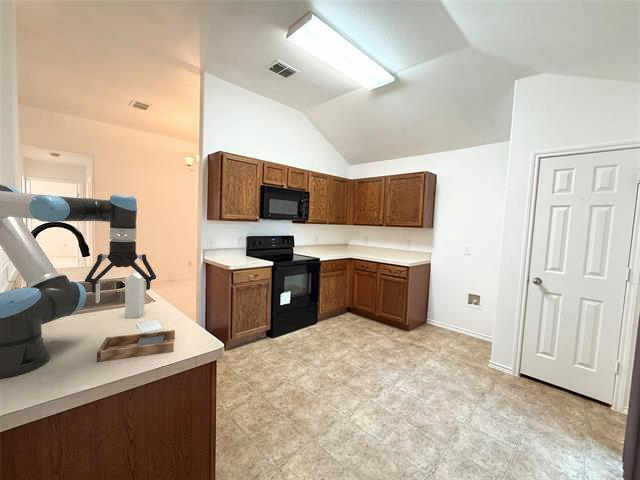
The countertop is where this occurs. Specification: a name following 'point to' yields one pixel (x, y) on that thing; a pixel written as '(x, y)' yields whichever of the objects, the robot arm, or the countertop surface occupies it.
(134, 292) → the milk
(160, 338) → the grey square tile
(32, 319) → the robot arm
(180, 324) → the countertop surface
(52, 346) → the countertop surface
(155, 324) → the hard drive
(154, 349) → the box
